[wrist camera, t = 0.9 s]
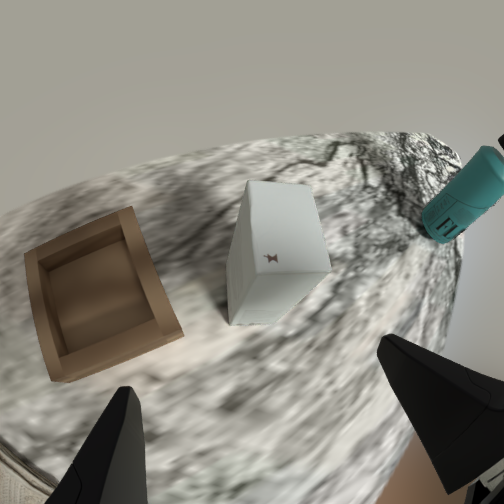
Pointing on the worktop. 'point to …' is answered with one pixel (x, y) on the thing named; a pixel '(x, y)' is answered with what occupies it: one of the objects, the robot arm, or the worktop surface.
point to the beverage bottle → (466, 195)
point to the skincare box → (274, 252)
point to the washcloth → (21, 481)
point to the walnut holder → (97, 298)
